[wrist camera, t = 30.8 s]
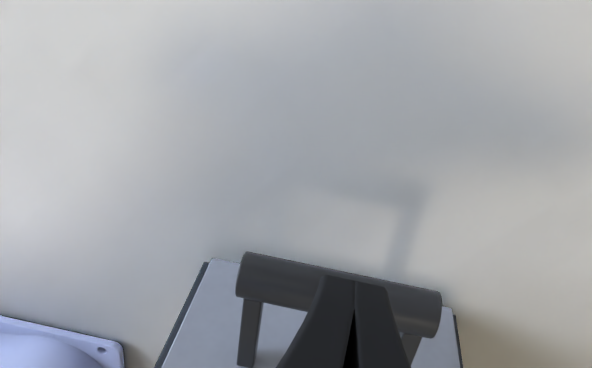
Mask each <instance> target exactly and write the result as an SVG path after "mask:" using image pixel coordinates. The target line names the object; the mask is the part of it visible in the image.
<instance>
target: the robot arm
mask: <svg viewBox="0 0 592 368" xmlns="http://www.w3.org/2000/svg"><path fill="white" fill-rule="evenodd" d="M0 368H124V357H123V348H122V346H121V345H120V344H119V343H117V342H115V341H111V340H107V339H102V338H98V337H93V336H89V335H84V334H80V333H76V332H71V331H67V330H62V329H58V328H53V327H49V326H44V325H40V324H35V323H31V322H27V321H22V320H18V319H13V318H9V317H4V316H0ZM276 368H411V365H410V363H409V360H408V357H407V355H406V352H405V349H404V346H403V344H402V341H401V338H400V334H399V331H398V328H397V325H396V322H395V319H394V315H393V312H392V308H391V304H390V300H389V296H388V292H387V290H386V289H385V288H384V287H383V286H378V285H374V284H369V283H364V282H359V281H355V280H350V279H345V278H340V277H336V276H331V275H324V276H322V277H320V280H319V285H318V288H317V291H316V294H315V297H314V299H313V302H312V304H311V306H310V309H309V311H308V313H307V315H306V317H305V319H304V321H303V323H302V325H301V326H300V328H299V330H298V332H297V333H296V335H295V337H294V339H293V341H292V342H291V344H290V346H289V348H288V349H287V351H286V353H285V354H284V356H283V357H282V359H281V360H280V362H279V363H278V365H277V366H276Z"/></svg>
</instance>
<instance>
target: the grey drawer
mask: <svg viewBox="0 0 592 368" xmlns="http://www.w3.org/2000/svg"><path fill="white" fill-rule="evenodd" d="M324 275H331V276H336V277H340V278H345V279H350V280H355V281H359V282H364V283H369V284H374V285H378V286H383V287H384V288H385V289H386V290H387V292H388V296H389V300H390V304H391V308H392V312H393V315H394V319H395V322H396V325H397V328H398V331H399V334H400V338H401V341H402V344H403V346H404V349H405V352H406V355H407V357H408V360H409V363H410V365H411V368H460V362H459V355H458V348H457V341H456V333H455V326H454V319H453V312H452V308H448V307H443V306H442V298H441V294H440V293H439V292H438V291H433V290H428V289H423V288H419V287H414V286H409V285H404V284H400V283H395V282H390V281H385V280H381V279H376V278H371V277H366V276H361V275H357V274H352V273H347V272H342V271H338V270H333V269H328V268H323V267H318V266H314V265H309V264H304V263H299V262H295V261H290V260H285V259H280V258H276V257H271V256H266V255H261V254H256V253H252V252H245V253H244V255H243V257H242V260H241V263H235V262H230V261H226V260H221V259H216V258H212V259H211V261H210V263H209V265H208V268H207V270H206V272H205V274H204V276H203V279H202V281H201V283H200V285H199V287H198V289H197V292H196V294H195V296H194V298H193V300H192V302H191V305H190V307H189V309H188V311H187V313H186V316H185V318H184V320H183V322H182V324H181V326H180V329H179V331H178V333H177V335H176V337H175V339H174V342H173V344H172V346H171V348H170V350H169V353H168V355H167V357H166V359H165V361H164V363H163V366H162V368H276V366H277V365H278V363H279V362H280V360H281V359H282V357H283V356H284V354H285V353H286V351H287V349H288V348H289V346H290V344H291V342H292V341H293V339H294V337H295V335H296V333H297V332H298V330H299V328H300V326H301V325H302V323H303V321H304V319H305V317H306V315H307V313H308V311H309V309H310V306H311V304H312V302H313V299H314V297H315V294H316V291H317V288H318V285H319V280H320V277H322V276H324Z"/></svg>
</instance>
